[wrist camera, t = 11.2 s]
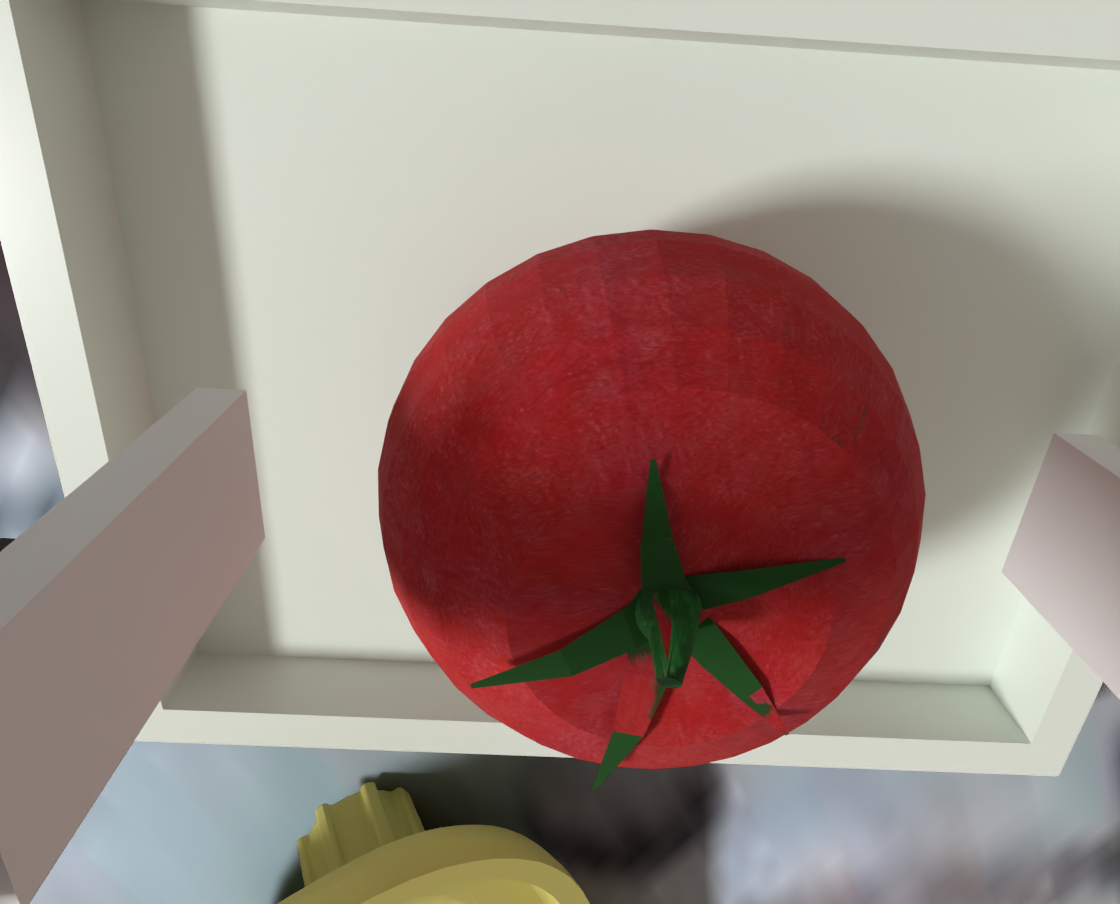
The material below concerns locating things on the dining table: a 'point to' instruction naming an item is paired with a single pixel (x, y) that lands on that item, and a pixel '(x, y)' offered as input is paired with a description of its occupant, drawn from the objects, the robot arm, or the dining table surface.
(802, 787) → the dining table surface
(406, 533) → the tomato
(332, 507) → the tray
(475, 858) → the plastic component
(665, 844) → the dining table surface
